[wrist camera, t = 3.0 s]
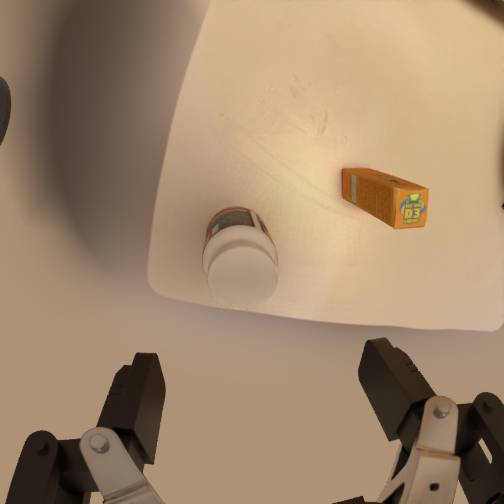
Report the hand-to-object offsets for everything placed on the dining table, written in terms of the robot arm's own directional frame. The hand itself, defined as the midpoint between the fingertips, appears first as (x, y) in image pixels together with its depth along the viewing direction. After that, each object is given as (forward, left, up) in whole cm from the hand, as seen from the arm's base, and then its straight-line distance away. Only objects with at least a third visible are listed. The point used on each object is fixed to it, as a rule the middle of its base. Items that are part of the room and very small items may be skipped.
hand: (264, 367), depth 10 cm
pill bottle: (0, -1, -19) cm, 19 cm away
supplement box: (+12, +4, -19) cm, 23 cm away
